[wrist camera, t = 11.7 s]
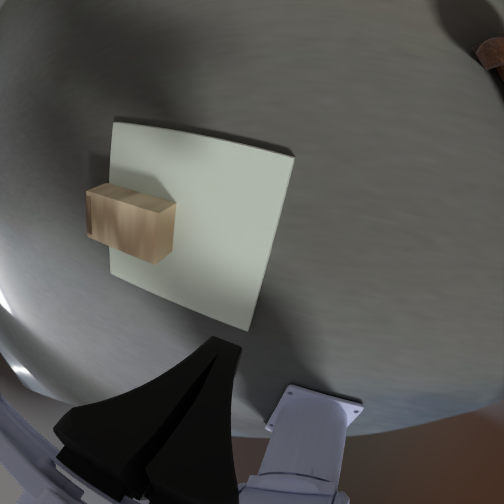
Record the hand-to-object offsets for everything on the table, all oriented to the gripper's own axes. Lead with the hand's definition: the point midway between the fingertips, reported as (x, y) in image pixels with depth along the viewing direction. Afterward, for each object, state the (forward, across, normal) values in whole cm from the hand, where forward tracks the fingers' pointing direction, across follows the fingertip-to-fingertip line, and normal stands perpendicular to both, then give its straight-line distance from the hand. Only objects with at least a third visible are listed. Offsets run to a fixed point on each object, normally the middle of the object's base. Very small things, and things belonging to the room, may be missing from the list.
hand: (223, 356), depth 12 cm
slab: (+8, +8, 0) cm, 11 cm away
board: (+10, +8, 0) cm, 12 cm away
